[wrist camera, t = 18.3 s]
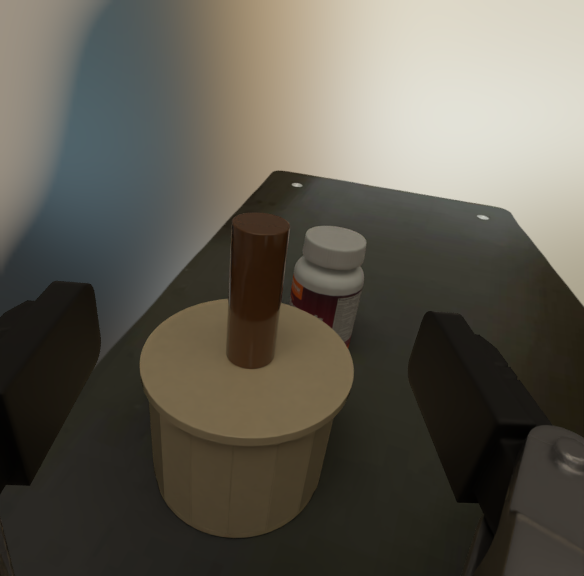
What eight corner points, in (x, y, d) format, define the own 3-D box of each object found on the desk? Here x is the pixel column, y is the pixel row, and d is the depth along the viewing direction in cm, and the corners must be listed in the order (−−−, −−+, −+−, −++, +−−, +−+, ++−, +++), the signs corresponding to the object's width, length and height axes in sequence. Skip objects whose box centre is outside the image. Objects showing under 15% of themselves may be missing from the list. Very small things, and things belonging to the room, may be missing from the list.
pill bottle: (270, 342, 40) (283, 231, 35) (312, 319, 44) (329, 217, 39) (320, 376, 37) (342, 260, 31) (360, 348, 41) (386, 241, 35)
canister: (191, 576, 22) (191, 472, 18) (135, 427, 30) (125, 330, 26) (352, 487, 28) (381, 392, 24) (270, 381, 36) (280, 295, 31)
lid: (186, 497, 18) (183, 314, 13) (117, 336, 26) (100, 191, 21) (393, 404, 24) (441, 257, 19) (283, 298, 32) (298, 179, 28)
